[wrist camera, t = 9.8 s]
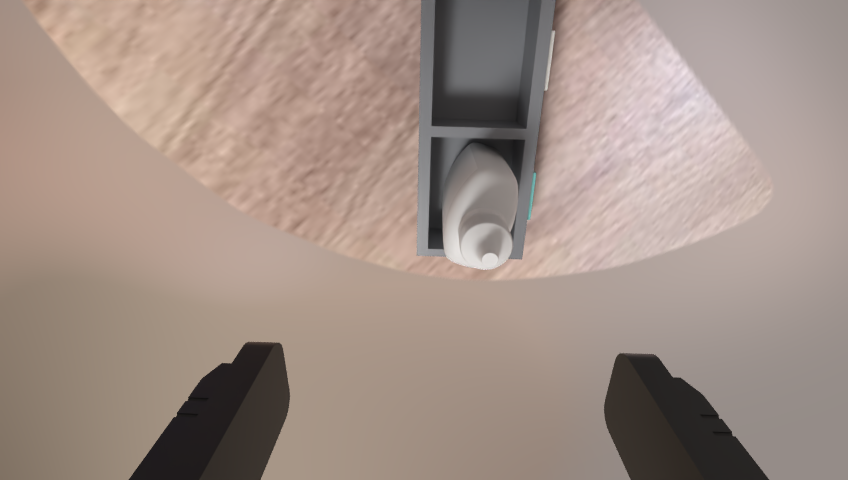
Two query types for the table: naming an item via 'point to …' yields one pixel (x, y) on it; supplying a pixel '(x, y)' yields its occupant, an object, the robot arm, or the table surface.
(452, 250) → the eye dropper bottle
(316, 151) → the table surface
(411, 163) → the table surface
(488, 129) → the block
